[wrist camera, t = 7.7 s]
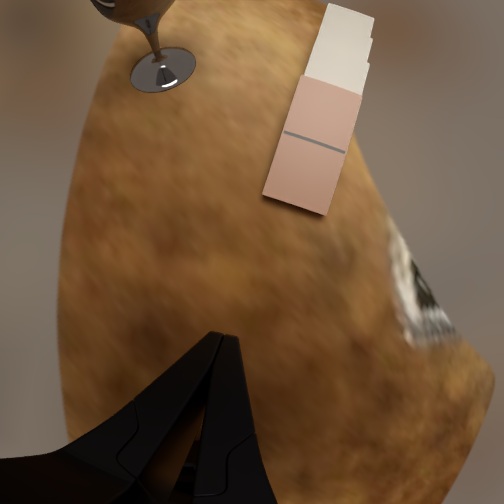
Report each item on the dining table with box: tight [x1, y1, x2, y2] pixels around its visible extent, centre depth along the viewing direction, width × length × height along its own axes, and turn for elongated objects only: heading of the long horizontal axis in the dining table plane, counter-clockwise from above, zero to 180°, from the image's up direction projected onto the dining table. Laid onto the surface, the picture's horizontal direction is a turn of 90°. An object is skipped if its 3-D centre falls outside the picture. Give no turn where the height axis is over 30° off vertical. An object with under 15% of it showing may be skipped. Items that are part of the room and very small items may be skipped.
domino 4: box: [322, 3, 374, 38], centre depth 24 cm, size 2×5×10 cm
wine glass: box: [90, 0, 196, 93], centre depth 19 cm, size 8×8×15 cm
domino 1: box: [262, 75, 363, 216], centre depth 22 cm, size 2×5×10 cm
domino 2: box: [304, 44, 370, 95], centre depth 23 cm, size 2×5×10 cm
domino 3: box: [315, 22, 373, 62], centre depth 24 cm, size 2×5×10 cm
